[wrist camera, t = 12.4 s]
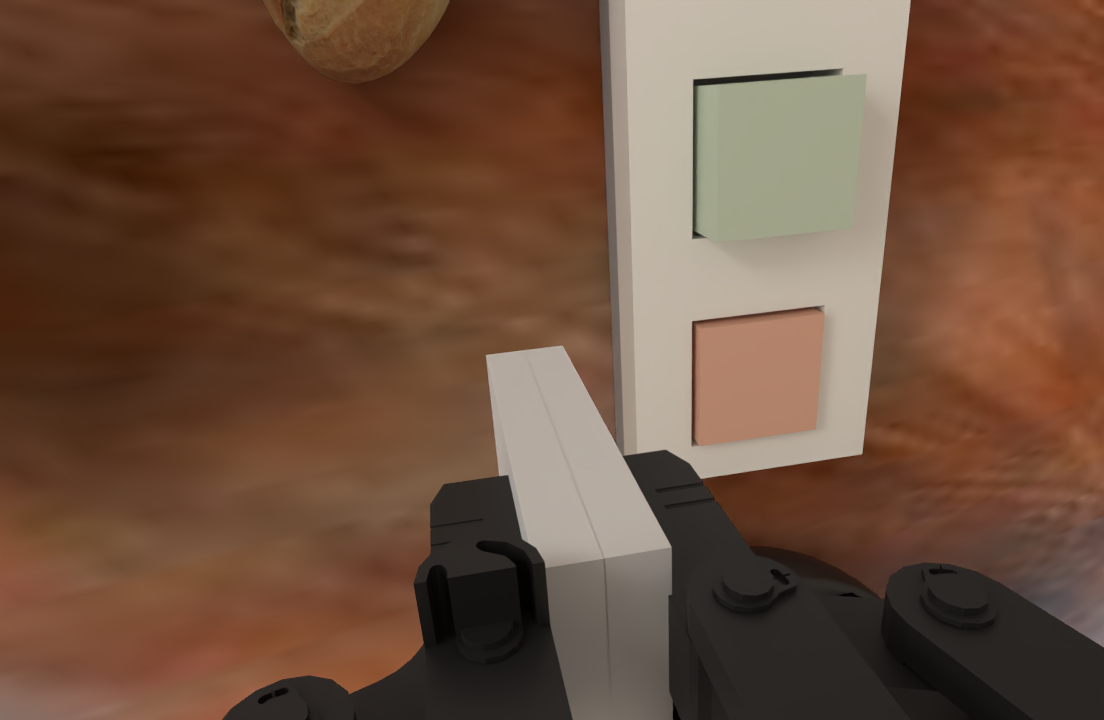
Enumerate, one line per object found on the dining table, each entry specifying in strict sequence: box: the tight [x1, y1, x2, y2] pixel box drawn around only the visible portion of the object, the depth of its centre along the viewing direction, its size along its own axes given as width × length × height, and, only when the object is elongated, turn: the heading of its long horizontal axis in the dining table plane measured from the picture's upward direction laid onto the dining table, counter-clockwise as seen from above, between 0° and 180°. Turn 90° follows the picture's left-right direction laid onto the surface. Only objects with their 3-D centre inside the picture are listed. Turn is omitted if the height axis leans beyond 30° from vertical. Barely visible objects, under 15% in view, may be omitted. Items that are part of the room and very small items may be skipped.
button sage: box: [693, 74, 867, 243], centre depth 34 cm, size 7×7×3 cm
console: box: [599, 0, 911, 479], centre depth 37 cm, size 14×36×5 cm, turn 4°
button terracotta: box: [691, 307, 825, 446], centre depth 40 cm, size 7×7×3 cm
